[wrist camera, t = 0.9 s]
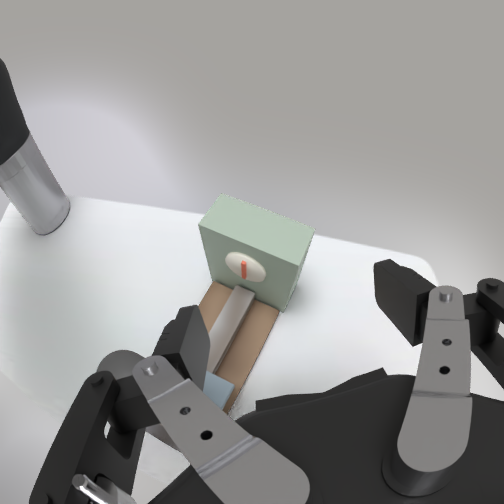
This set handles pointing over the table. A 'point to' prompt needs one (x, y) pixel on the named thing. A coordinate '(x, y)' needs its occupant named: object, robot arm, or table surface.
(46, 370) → the table surface
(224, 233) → the gauge cabinet
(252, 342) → the rail
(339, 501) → the robot arm
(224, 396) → the cylinder
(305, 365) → the table surface
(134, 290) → the table surface
